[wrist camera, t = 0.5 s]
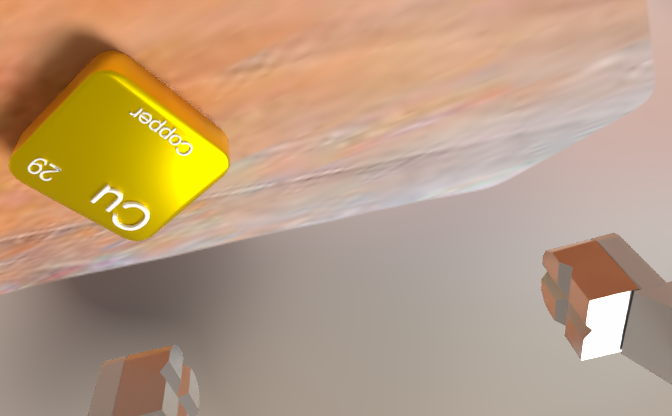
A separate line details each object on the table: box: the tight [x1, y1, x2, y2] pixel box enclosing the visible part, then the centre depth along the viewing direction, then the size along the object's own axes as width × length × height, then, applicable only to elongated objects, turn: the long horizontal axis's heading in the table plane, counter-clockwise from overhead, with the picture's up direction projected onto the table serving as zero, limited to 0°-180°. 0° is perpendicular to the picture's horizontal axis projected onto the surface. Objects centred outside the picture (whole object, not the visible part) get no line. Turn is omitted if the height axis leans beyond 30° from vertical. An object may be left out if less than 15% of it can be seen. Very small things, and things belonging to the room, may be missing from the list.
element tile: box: [9, 51, 230, 241], centre depth 50 cm, size 15×15×5 cm
